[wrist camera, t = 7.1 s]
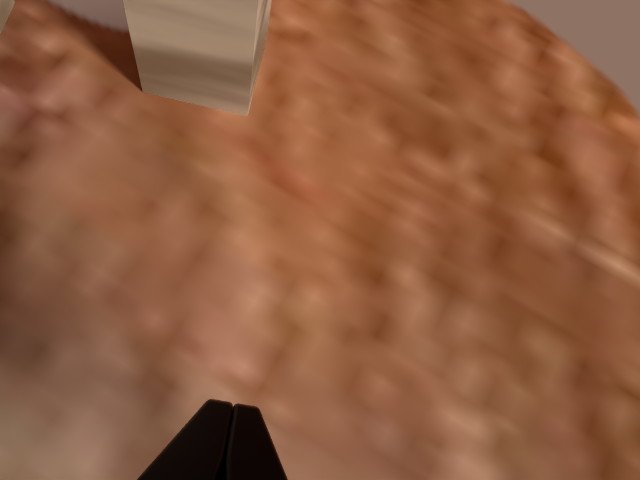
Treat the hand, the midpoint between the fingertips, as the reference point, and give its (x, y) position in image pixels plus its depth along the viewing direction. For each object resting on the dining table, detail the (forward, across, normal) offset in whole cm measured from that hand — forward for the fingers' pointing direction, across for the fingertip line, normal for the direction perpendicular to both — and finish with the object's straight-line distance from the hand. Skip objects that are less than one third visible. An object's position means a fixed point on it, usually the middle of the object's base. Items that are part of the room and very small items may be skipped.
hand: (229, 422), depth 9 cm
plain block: (+21, +4, -2) cm, 22 cm away
